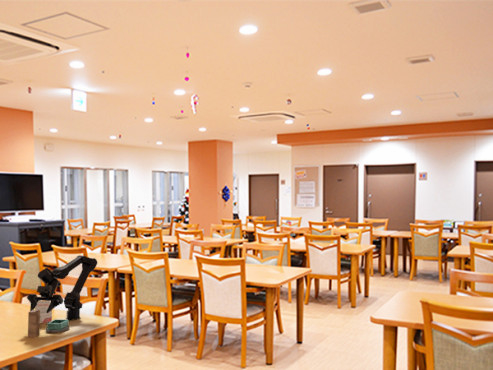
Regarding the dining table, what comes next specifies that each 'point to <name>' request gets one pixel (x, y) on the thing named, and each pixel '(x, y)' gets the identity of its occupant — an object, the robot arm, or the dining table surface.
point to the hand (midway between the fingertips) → (38, 312)
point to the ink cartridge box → (44, 311)
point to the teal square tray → (57, 326)
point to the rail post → (34, 323)
